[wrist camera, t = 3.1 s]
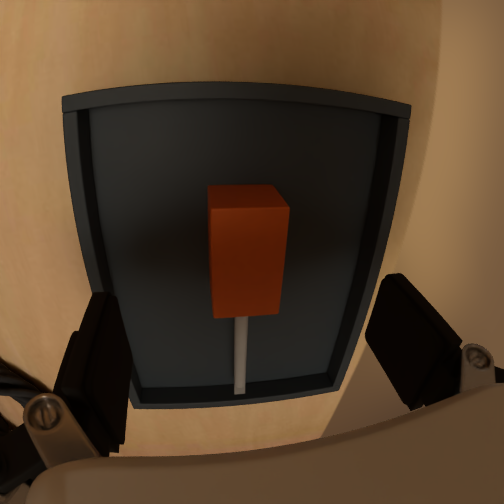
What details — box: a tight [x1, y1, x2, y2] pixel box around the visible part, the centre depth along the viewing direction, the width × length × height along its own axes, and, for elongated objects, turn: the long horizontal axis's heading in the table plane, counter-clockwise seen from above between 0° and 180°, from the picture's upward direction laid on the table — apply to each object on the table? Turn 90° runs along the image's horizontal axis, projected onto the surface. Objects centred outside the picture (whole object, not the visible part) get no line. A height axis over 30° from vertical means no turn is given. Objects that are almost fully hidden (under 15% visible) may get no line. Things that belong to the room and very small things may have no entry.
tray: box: [62, 81, 412, 409], centre depth 16 cm, size 19×15×2 cm
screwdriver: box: [208, 184, 290, 394], centre depth 16 cm, size 13×3×3 cm, turn 178°
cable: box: [0, 363, 44, 438], centre depth 19 cm, size 17×14×4 cm
